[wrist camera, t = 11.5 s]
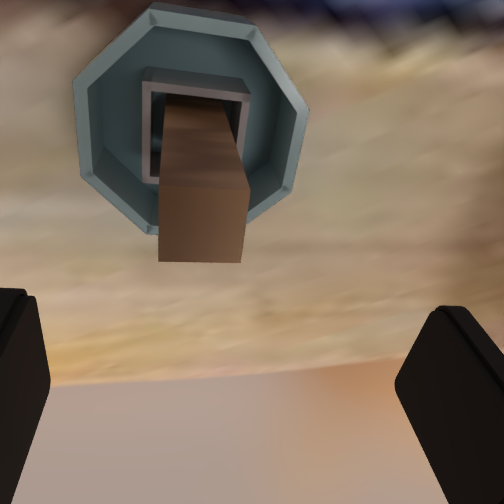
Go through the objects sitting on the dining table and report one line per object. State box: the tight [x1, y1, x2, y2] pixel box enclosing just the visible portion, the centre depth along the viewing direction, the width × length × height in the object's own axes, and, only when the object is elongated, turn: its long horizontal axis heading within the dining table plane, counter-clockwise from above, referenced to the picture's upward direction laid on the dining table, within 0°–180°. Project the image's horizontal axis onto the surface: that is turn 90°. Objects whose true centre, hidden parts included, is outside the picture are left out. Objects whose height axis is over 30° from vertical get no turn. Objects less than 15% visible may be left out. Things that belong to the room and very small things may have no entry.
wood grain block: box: [158, 93, 251, 263], centre depth 19 cm, size 3×3×12 cm
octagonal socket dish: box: [72, 1, 310, 235], centre depth 23 cm, size 11×11×4 cm
